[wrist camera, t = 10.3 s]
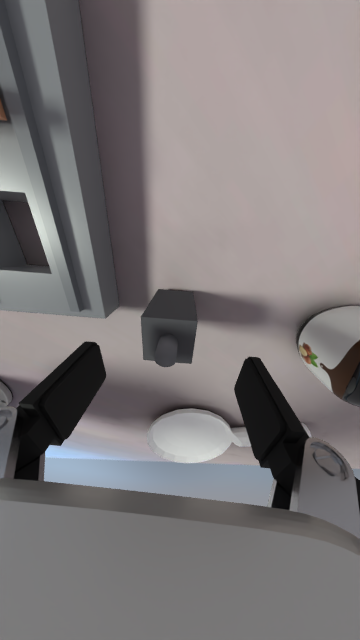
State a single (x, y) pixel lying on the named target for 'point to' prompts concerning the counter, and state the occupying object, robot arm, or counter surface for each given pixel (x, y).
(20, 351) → the counter surface
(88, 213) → the socket block
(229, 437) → the frying pan
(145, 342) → the plug
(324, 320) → the spread jar
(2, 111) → the tan l-shaped bracket
